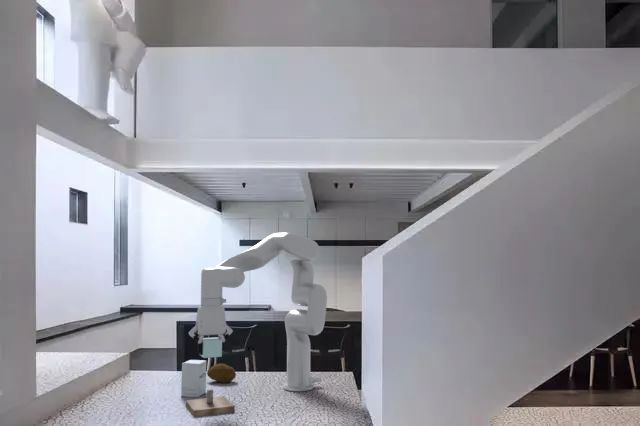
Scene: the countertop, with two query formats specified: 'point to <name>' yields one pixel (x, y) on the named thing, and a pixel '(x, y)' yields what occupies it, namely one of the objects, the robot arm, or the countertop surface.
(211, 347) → the pale blue cube
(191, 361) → the supplement box
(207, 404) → the wooden peg base
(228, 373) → the potato
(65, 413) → the countertop surface
